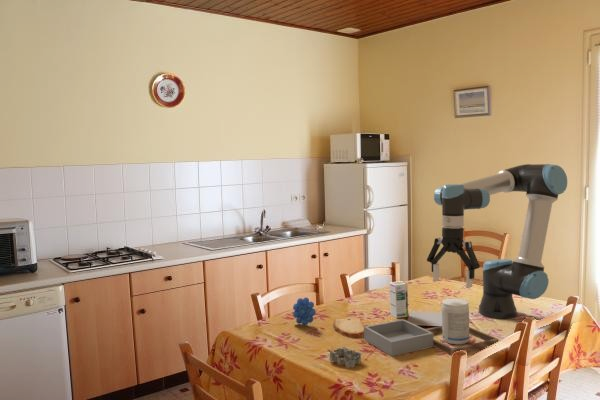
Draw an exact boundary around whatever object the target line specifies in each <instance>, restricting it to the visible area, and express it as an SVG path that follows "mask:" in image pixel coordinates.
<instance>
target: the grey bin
mask: <svg viewBox="0 0 600 400" xmlns="http://www.w3.org/2000/svg"><path fill="white" fill-rule="evenodd" d="M433 339H434V334H433V333H432V332H430V331H428V330H425V328H423V327H421V326H419V325H417V324H414V323H412V322H410V321H408V320H406V319H402V318H401V319H398V320H392V321H387V322H382V323H377V324H371V325H370V324H369V325H366V326H364V338H363V340H364V341H365V342H367V343H369V344H370V345H372V346H374V347H375V348H377V349H379V350H380V351H382V352H384V353H385V354H386V355H389V356H390V357H395V356H398V355H404V354H408V353H413V352H415V351H422V350H426V349H430V348H434V346H433Z"/></svg>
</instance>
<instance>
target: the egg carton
mask: <svg viewBox="0 0 600 400" xmlns="http://www.w3.org/2000/svg"><path fill="white" fill-rule="evenodd" d="M327 352H329V362H330V361H337V362H336V363H337V365H339V364H342V365H344V364H345V365H344V366H345V368H355V365H360V364H361V362H362V357H361V356H362V355H363V352H360V351H359V352H358V351H356V350H354V349H353V350H352V349H349V348H348V347H346V346H341V347H339V348H337V349H333V351H332V350H330V349H327ZM342 355H343V357H341V356H342ZM340 357H341V358H340Z"/></svg>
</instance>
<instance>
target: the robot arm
mask: <svg viewBox="0 0 600 400" xmlns="http://www.w3.org/2000/svg"><path fill="white" fill-rule="evenodd" d="M565 171H566V170H564V168H562V166H560V165H558V164H549V163H546V164H544V163H542V164H540V163H539V164H530V163H526V164H521V165H516V166H512V167H508V168H505V169H502V170H499V172H497V174H496V173H495V174H493V175H490V176H485V177H482V178H481V177H480V178H478V179H474V180H470V181H467V182H463V183H458V184H457V183H456V184H454V183H453V184H452V183H451V184H444V185H443V186H439V187H437V188H436V189H435V190H434V193H433V201H434V202H435V204H437V205H438V206H441V208H442V210H441V212H442V214H441V217H442V218H441V225H442V226H443V227H442V228H441V237H442V238H441V237H436V238H434V241H433V246H432V248H431V250H430V252H429V254H428V256H427V258H426V261H427V262H428V263H430V264H431V273H433V275H432V282H434V283H436V282H439V281H440V263H438V262H439V261H440V259H442V257H444V255H445V254H446V253H453V254H457V255H459V257H460V259H461V260H462V262H463V263H464V264H465V267H467V269H466V280H465V281H466V282H465V283H466V284H465V285H466V289H470V288H472V287H473V279H475V270H477V269H479V268H481V266H480V264H479V261H478V259H477V256H476V253H475V251H474V249H473V245H472V244H473V243H472V241H470V240H469V241H464V237H465V236H464V234H465V233H464V232H465V231H464V228H463V227H464V225H465V223H464V221H465V220H464V219H465V218H464V215H465V210H480V209H485V208H487V207H488V206H489V205H490V203H491V202H490V201H491V196H492V195H495V194H496V195H497V194H498V193H502V192H503V193H507V194H508V193H511V192H521V193H522V192H523V193H524V192H525V196H526V197H527V198H528V205H527V209H526V214H525V220H524V224H523V225H524V226H523V229H522V235H521V241H520V246H519V252H518V256H517V258H515V259H513V260H511V259H507V258H506V259H503V258H498V259H490V260H486V261H485V262H484V263H483V268H482V289H483V292H482V297H481V299H480V303H479V305H478V313H479V314H480V315H482V316H484V317H486V318H487V317H488V318H491V319H492V318H493V319H512V318H515V317H517V313H518V311H517V309H518V308H517V307H516V305H515V301H514V297H513V295H515V296H519V297H521V298H523V299H524V298H525V299H530V300H535V299H536V300H537V299H539V298H540V297H542V295H544V294H545V292H546V291H547V289H548V287H549V278H548V274H547V273H546V272H545V266H544V265H543V263H542V259H543V254H544V250H545V249H544V248H545V244H546V237H547V234H548V233H547V232H548V227H549V223H550V218H551V217H550V216H551V213H552V207H553V204H554V203H555V202H556V201H558V198H559V195H561V194H563V193H565V191H566V189H567V187H568V176H567V173H566V172H565ZM441 245H442V247H441V249H440V250H439V248H440V246H441ZM464 248H465V249H464ZM438 250H439V251H438ZM437 252H438V253H437Z"/></svg>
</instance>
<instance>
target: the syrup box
mask: <svg viewBox="0 0 600 400" xmlns="http://www.w3.org/2000/svg"><path fill="white" fill-rule="evenodd" d="M408 290H409V289H408V283H407V282H405V281H402V280H399V281H390V282H389V304H390V307H389V311H390V312H389V313H390V316H392V317H393V318H395V319H399V318H407V317H409V304H408V303H409V301H408V300H409V299H408V298H409V296H408Z"/></svg>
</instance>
